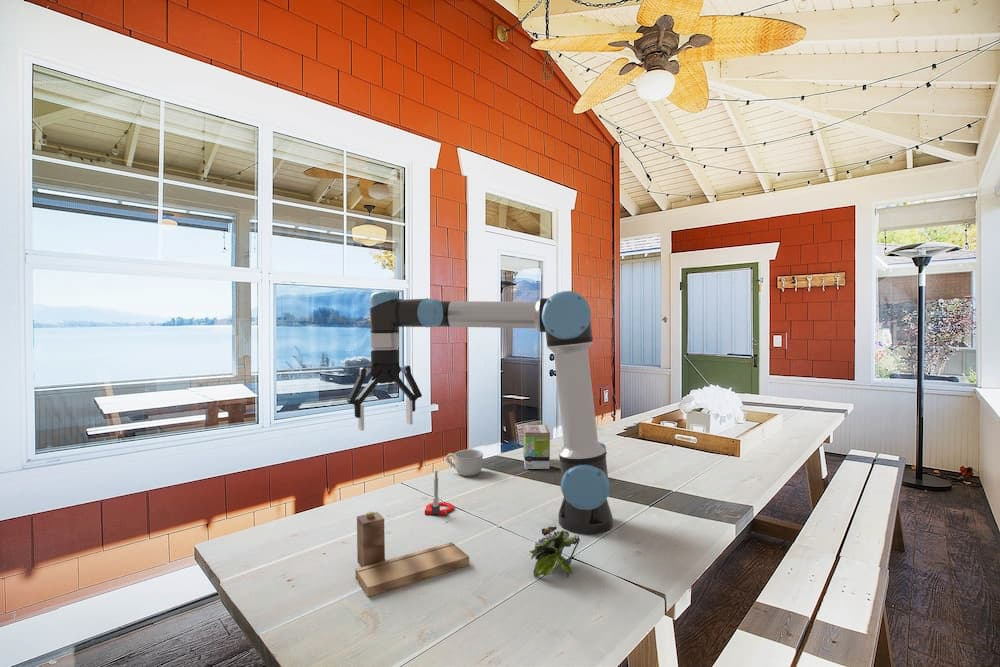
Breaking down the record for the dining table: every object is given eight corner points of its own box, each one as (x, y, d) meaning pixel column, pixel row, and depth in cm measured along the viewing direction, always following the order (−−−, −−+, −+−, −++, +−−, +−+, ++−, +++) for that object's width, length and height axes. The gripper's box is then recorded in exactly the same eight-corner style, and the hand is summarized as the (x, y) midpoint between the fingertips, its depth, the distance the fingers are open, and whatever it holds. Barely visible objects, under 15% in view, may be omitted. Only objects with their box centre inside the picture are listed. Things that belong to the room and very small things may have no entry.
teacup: (487, 471, 186) (487, 450, 186) (476, 479, 176) (476, 457, 175) (454, 467, 190) (453, 447, 190) (442, 476, 180) (441, 454, 180)
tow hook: (430, 505, 153) (421, 515, 144) (430, 463, 153) (421, 471, 144) (456, 506, 151) (448, 516, 142) (456, 465, 152) (449, 472, 143)
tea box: (550, 470, 186) (550, 432, 186) (524, 470, 187) (524, 432, 186) (547, 459, 201) (547, 423, 201) (523, 459, 202) (522, 424, 201)
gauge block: (378, 556, 118) (377, 507, 118) (384, 565, 114) (384, 514, 114) (357, 562, 115) (356, 512, 115) (363, 571, 111) (363, 519, 111)
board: (451, 550, 121) (451, 541, 121) (469, 564, 113) (469, 556, 113) (355, 577, 108) (355, 568, 108) (368, 596, 101) (367, 586, 100)
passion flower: (549, 585, 114) (564, 534, 120) (582, 597, 106) (596, 541, 111) (514, 568, 110) (532, 516, 115) (546, 579, 101) (563, 522, 107)
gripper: (421, 346, 142) (422, 419, 142) (334, 350, 128) (335, 429, 129) (432, 347, 135) (433, 423, 136) (342, 351, 122) (343, 435, 122)
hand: (386, 426), depth 132 cm, fingers open, 13 cm apart
